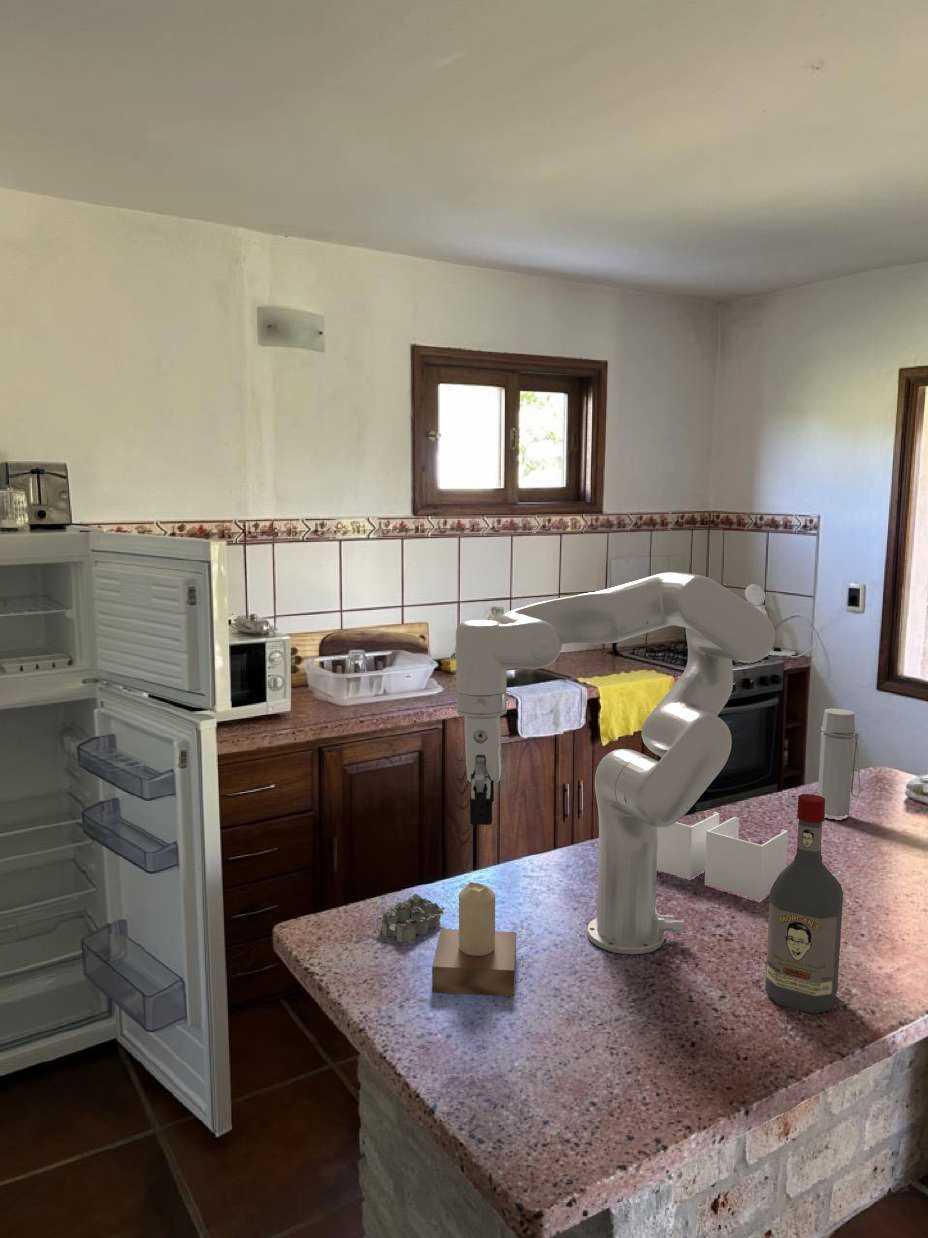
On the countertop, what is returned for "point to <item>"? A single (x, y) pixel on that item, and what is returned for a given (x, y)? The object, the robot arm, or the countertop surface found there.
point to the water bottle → (837, 761)
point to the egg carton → (421, 918)
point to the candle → (476, 920)
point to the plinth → (474, 966)
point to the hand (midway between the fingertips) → (482, 812)
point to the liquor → (805, 921)
